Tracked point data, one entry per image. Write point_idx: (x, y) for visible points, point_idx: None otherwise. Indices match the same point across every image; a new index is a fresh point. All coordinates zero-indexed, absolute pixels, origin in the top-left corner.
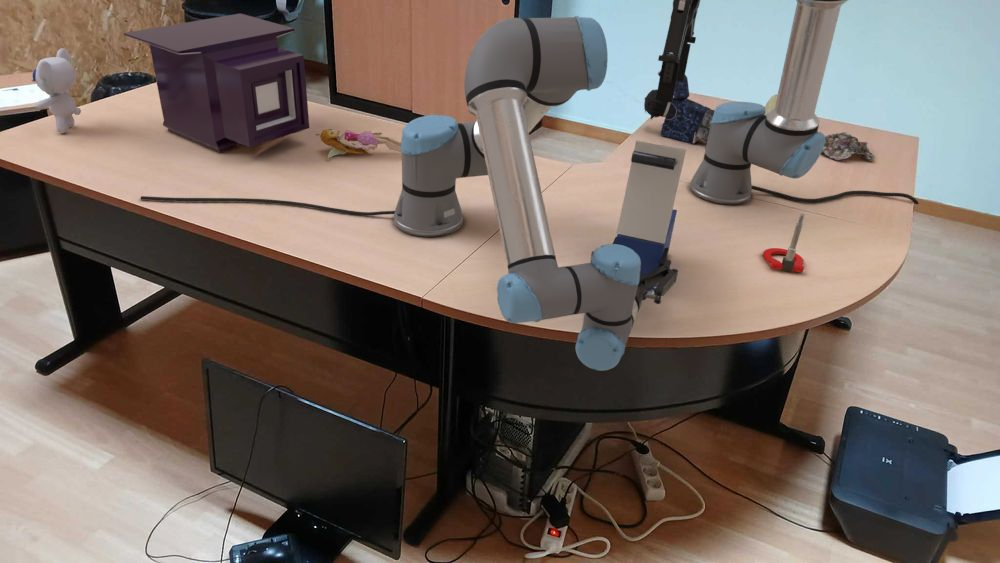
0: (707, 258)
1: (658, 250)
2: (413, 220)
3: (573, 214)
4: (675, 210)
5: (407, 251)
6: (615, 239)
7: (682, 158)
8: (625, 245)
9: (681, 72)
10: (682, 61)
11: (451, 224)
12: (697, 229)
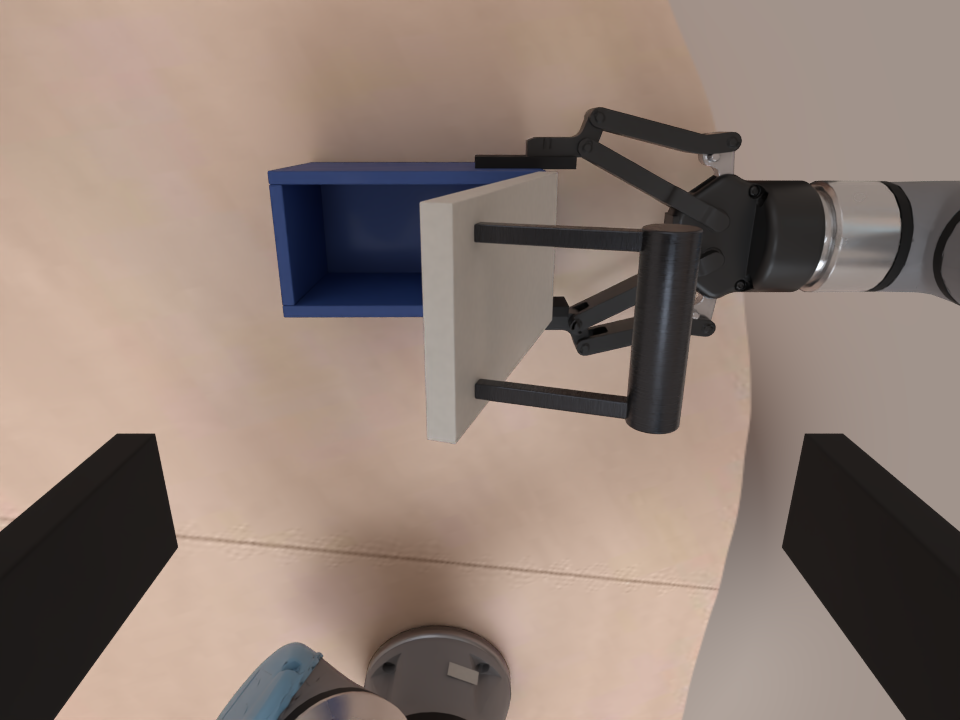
0: (262, 42)
1: None
2: (506, 711)
3: (224, 437)
4: (274, 175)
5: (572, 668)
6: None
7: (467, 205)
8: None
9: (120, 502)
10: (48, 586)
11: (466, 647)
12: (93, 98)
